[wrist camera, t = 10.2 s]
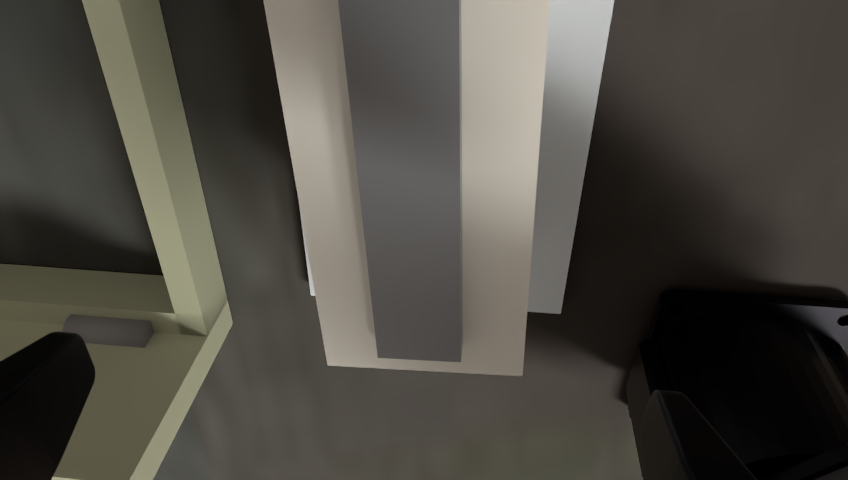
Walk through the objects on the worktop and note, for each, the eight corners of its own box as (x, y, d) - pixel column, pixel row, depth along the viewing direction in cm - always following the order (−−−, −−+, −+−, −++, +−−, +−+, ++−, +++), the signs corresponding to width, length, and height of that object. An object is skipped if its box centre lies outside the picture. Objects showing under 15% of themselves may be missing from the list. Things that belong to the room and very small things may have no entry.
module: (546, -210, 14) (569, -208, 9) (519, 238, 21) (523, 394, 16) (322, -201, 15) (214, -192, 9) (368, 233, 21) (322, 383, 16)
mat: (676, -391, 13) (682, -397, 12) (559, 304, 23) (560, 314, 23) (231, -382, 13) (222, -387, 13) (314, 286, 24) (311, 295, 23)
